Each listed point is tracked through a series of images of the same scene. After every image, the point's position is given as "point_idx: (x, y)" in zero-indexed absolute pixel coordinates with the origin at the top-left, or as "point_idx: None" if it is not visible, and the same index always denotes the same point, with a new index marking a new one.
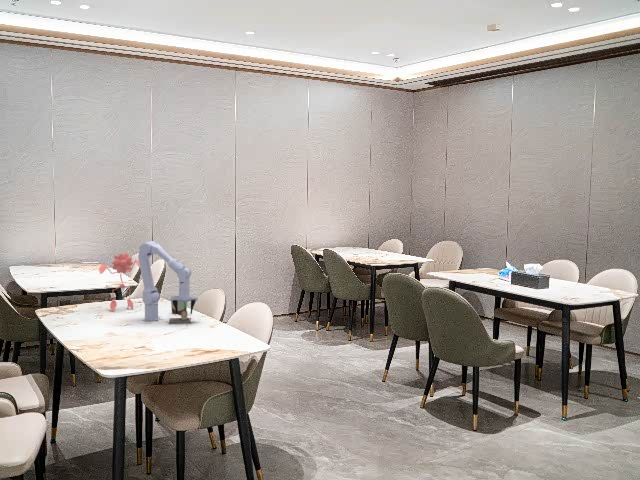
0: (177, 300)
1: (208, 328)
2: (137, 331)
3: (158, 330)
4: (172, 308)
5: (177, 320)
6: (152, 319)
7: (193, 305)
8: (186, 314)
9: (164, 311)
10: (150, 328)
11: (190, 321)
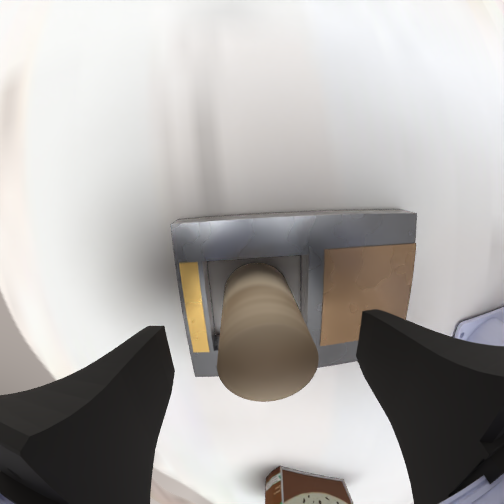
0: (480, 488)
1: (35, 48)
2: (498, 38)
3: (419, 3)
4: (348, 501)
5: (335, 247)
6: (484, 323)
7: (37, 389)
8: (226, 319)
9: (368, 491)
10: (479, 77)
11: (174, 236)
